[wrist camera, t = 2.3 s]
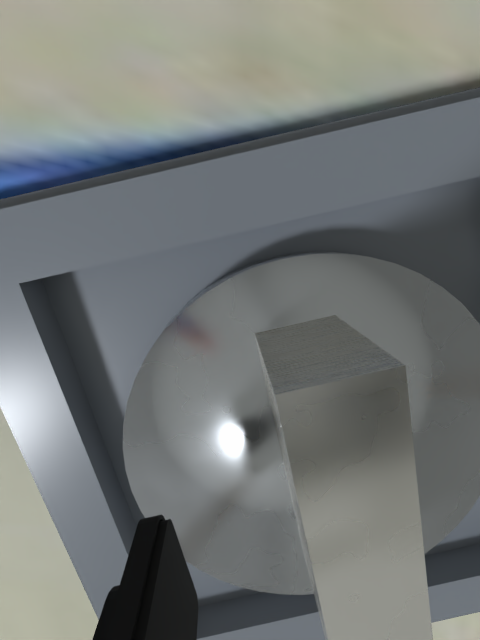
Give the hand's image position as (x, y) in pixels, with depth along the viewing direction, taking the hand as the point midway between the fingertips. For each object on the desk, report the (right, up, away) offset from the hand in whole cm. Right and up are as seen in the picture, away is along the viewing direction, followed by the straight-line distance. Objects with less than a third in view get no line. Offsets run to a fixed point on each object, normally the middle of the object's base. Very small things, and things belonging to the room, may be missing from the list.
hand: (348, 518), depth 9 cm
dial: (0, +1, +4) cm, 4 cm away
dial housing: (0, +1, +5) cm, 5 cm away
